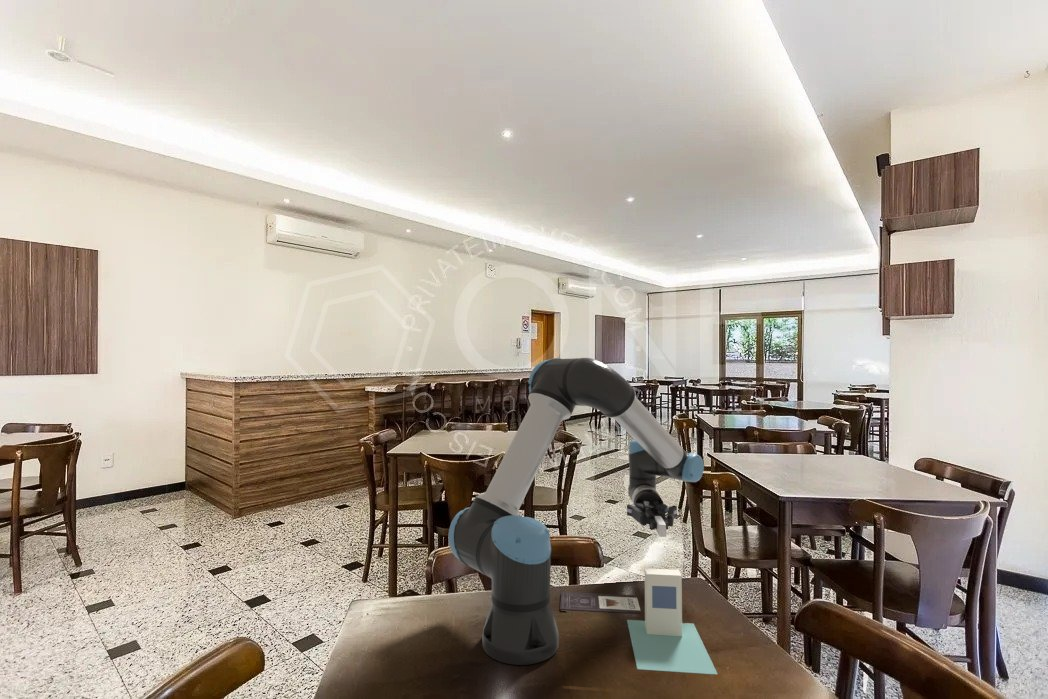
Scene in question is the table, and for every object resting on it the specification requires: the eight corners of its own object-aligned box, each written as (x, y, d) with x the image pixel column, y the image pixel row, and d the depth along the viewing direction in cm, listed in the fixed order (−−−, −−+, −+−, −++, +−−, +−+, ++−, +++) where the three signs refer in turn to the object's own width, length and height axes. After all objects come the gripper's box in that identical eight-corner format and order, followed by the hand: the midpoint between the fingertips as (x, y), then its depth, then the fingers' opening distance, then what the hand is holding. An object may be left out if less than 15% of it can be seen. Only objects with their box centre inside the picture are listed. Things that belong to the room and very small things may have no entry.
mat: (637, 671, 89) (637, 669, 89) (626, 621, 106) (626, 619, 106) (717, 676, 87) (717, 674, 87) (693, 625, 105) (693, 623, 105)
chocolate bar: (561, 591, 120) (636, 595, 118) (561, 595, 120) (636, 599, 118) (560, 609, 111) (641, 613, 109) (560, 613, 111) (641, 617, 109)
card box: (647, 634, 101) (646, 574, 101) (644, 626, 104) (644, 568, 104) (682, 636, 100) (681, 575, 100) (679, 628, 103) (678, 569, 103)
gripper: (672, 517, 133) (692, 548, 110) (623, 516, 135) (633, 546, 111) (671, 489, 134) (692, 514, 110) (623, 488, 135) (633, 513, 112)
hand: (662, 530), depth 111 cm, fingers closed
